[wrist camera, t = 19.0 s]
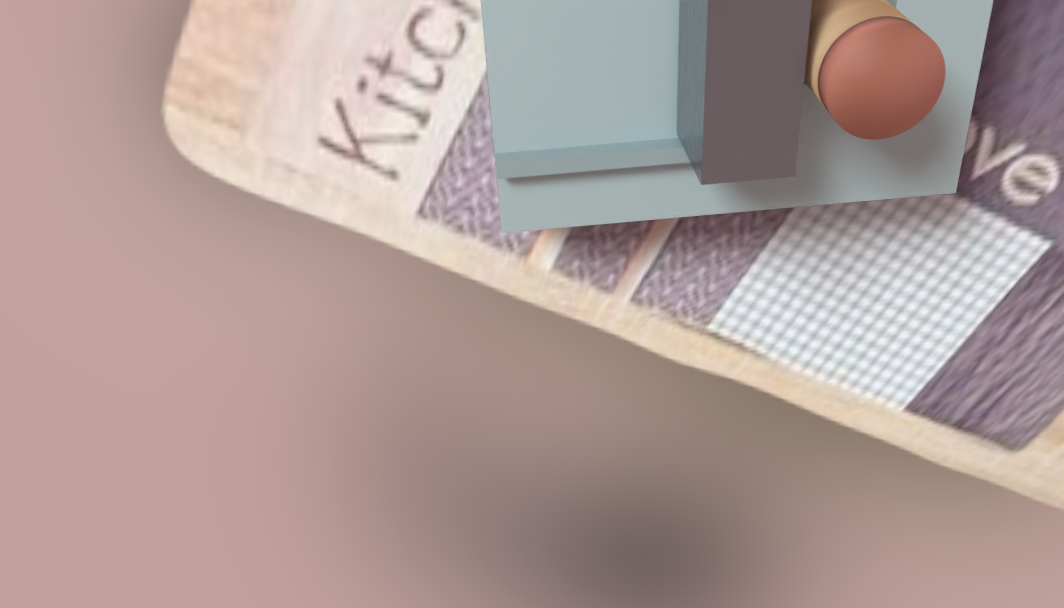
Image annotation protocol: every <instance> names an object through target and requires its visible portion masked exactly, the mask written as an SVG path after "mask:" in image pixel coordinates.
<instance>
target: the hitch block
mask: <svg viewBox="0 0 1064 608" xmlns="http://www.w3.org/2000/svg"><path fill="white" fill-rule="evenodd" d="M887 1H888V2H889V3H890V4H891V5H892V6H894V7H895V8H896V9H897V10H898V11H900V12H901V13H902V14H903V15H904V16H905V17H907V18H908V19H909V20H910V21H911V22H913V23H914V24H915V25H916V26H917V27H918V28H920V29H921V30H922V31H923V32H924V33H926V34H927V35H928V36H929V37H930V38H931V39H932V40H934V41H935V43H936V44H937V45H938V47H939V48H940V50H941V52H942V55H943V57H944V61H945V71H946V74H945V82H944V86H943V89H942V92H941V94H940V96H939V98H938V100H937V102H936V104H935V105H934V107H933V108H932V110H931V111H930V112H929V113H928V114H927V115H926V116H925V117H924V118H923V119H922V120H921V121H920V122H919V123H918V124H916V125H915V126H914V127H912V128H911V129H909V130H907V131H905V132H903V133H901V134H899V135H896V136H893V137H890V138H885V139H877V140H870V139H863V138H859V137H856V136H853V135H851V134H849V133H848V132H846V131H845V130H843V129H842V128H841V127H840V126H839V125H838V124H837V123H836V121H835V120H834V119H833V117H832V116H831V115H830V114H829V112H828V111H827V110H826V109H825V107H824V106H823V105H822V103H821V102H820V101H819V100H818V98H817V97H816V96H815V94H814V93H813V92H812V91H811V89H810V88H809V87H808V85H807V84H806V83H805V82H804V90H803V100H802V111H801V121H800V132H799V143H798V153H797V164H796V174H795V177H787V178H776V179H764V180H753V181H742V182H730V183H719V184H707V185H701V184H700V182H699V180H698V177H697V175H696V173H695V171H694V169H693V167H692V165H691V163H690V161H689V159H688V157H687V154H686V152H685V150H684V148H683V146H682V144H681V142H680V140H679V138H678V136H677V91H678V45H679V0H481V7H482V19H483V30H484V41H485V53H486V64H487V76H488V87H489V98H490V110H491V121H492V132H493V144H494V155H495V166H496V177H497V188H498V198H499V208H500V219H501V229H502V233H508V232H519V231H530V230H542V229H553V228H564V227H576V226H587V225H598V224H610V223H621V222H633V221H644V220H655V219H667V218H678V217H689V216H701V215H712V214H723V213H735V212H746V211H757V210H769V209H780V208H791V207H803V206H814V205H826V204H837V203H848V202H860V201H871V200H882V199H894V198H905V197H916V196H928V195H939V194H950V193H956V189H957V184H958V179H959V174H960V169H961V164H962V159H963V153H964V148H965V143H966V138H967V133H968V128H969V123H970V118H971V112H972V107H973V102H974V97H975V92H976V87H977V82H978V77H979V71H980V66H981V61H982V56H983V51H984V46H985V41H986V36H987V30H988V25H989V20H990V15H991V10H992V5H993V0H887Z"/></svg>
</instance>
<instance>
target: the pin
mask: <svg viewBox="0 0 1064 608" xmlns="http://www.w3.org/2000/svg"><path fill="white" fill-rule="evenodd" d="M945 74H946V71H945V61H944V57H943V55H942V52H941V50H940V48H939V47H938V45H937V44H936V43H935V41H934V40H932V39H931V38H930V37H929V36H928V35H927V34H926V33H924V32H923V31H922V30H921V29H920V28H918V27H917V26H916V25H915V24H914V23H913V22H911V21H910V20H909V19H908V18H907V17H905V16H904V15H903V14H902V13H901V12H900V11H898V10H897V9H896V8H895V7H894V6H892V5H891V4H890V3H889V2H888V1H887V0H812V6H811V16H810V27H809V37H808V48H807V58H806V69H805V79H804V82H805V83H806V84H807V85H808V87H809V88H810V89H811V91H812V92H813V93H814V94H815V96H816V97H817V98H818V100H819V101H820V102H821V103H822V105H823V106H824V107H825V109H826V110H827V111H828V112H829V114H830V115H831V116H832V117H833V119H834V120H835V121H836V123H837V124H838V125H839V126H840V127H841V128H842V129H843V130H845V131H846V132H848V133H849V134H851V135H853V136H856V137H859V138H863V139H870V140H877V139H885V138H890V137H893V136H896V135H899V134H901V133H903V132H905V131H907V130H909V129H911V128H912V127H914V126H915V125H916V124H918V123H919V122H920V121H921V120H922V119H923V118H924V117H925V116H926V115H927V114H928V113H929V112H930V111H931V110H932V108H933V107H934V105H935V104H936V102H937V100H938V98H939V96H940V94H941V92H942V89H943V86H944V82H945Z"/></svg>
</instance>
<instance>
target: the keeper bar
mask: <svg viewBox="0 0 1064 608" xmlns="http://www.w3.org/2000/svg"><path fill="white" fill-rule="evenodd" d="M811 6H812V0H679V45H678V91H677V136H678V138H679V140H680V142H681V144H682V146H683V148H684V150H685V152H686V154H687V157H688V159H689V161H690V163H691V165H692V167H693V169H694V171H695V173H696V175H697V177H698V180H699V182H700V184H701V185H707V184H719V183H730V182H742V181H753V180H764V179H776V178H787V177H795V174H796V164H797V153H798V143H799V132H800V121H801V111H802V100H803V90H804V79H805V69H806V58H807V48H808V37H809V27H810V16H811Z"/></svg>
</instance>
